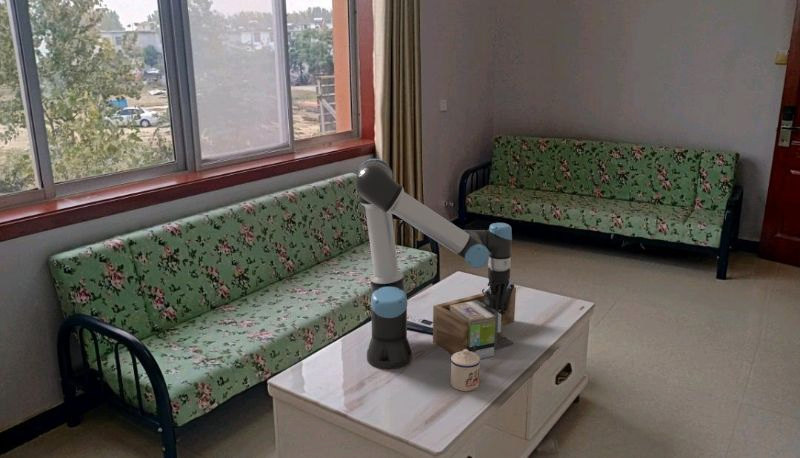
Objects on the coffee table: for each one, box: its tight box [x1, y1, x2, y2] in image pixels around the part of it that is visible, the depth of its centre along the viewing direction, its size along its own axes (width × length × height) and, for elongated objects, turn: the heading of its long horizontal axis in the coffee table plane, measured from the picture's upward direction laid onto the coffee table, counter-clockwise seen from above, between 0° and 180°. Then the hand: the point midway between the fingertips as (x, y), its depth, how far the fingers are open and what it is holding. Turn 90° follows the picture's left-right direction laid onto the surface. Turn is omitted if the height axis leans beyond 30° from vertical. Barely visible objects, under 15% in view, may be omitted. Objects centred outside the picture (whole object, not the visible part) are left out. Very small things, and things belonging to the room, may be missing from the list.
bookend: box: [474, 300, 514, 351], centre depth 222 cm, size 9×12×14 cm
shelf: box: [432, 286, 517, 356], centre depth 223 cm, size 36×17×14 cm, turn 122°
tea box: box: [450, 301, 495, 360], centre depth 216 cm, size 15×10×15 cm, turn 23°
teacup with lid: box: [450, 349, 482, 392], centre depth 195 cm, size 12×9×12 cm
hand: (496, 330), depth 224 cm, fingers closed
